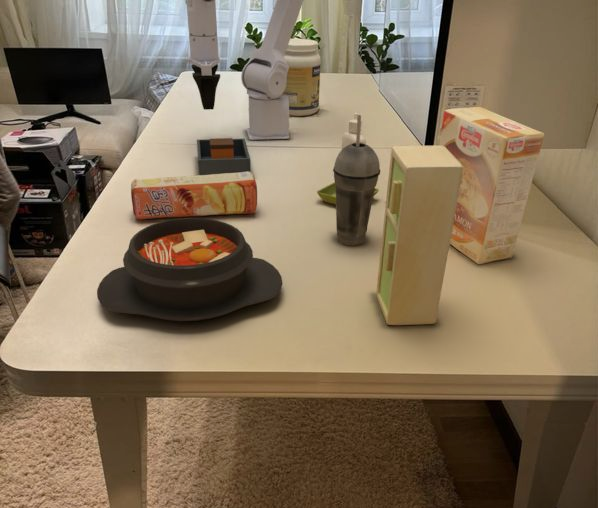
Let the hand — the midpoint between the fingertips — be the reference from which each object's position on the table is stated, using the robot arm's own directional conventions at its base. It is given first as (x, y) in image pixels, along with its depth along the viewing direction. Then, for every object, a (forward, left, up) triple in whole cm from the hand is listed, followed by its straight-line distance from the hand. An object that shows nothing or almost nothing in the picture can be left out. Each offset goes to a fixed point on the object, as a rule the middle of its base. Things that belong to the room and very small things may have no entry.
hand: (207, 104), depth 129 cm
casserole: (+5, +65, -10) cm, 65 cm away
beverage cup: (-21, +50, -10) cm, 55 cm away
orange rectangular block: (-2, +14, -9) cm, 16 cm away
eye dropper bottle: (-28, +20, -10) cm, 36 cm away
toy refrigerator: (-23, +72, -10) cm, 76 cm away
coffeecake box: (-40, +53, -10) cm, 67 cm away
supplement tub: (-24, -29, -10) cm, 39 cm away
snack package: (+4, +37, -10) cm, 38 cm away
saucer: (-24, +34, -10) cm, 42 cm away
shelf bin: (-2, +14, -9) cm, 17 cm away
